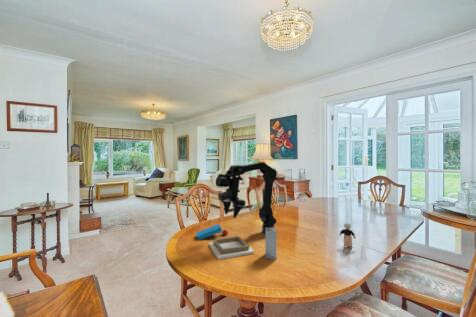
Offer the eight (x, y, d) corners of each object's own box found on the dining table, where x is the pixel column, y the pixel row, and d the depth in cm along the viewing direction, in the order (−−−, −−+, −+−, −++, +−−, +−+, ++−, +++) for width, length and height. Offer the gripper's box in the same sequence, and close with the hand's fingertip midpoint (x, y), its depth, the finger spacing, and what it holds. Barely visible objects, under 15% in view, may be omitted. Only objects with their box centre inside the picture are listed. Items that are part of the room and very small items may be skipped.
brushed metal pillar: (265, 254, 109) (265, 227, 108) (275, 254, 108) (275, 227, 108) (265, 258, 104) (265, 230, 103) (276, 259, 103) (276, 231, 103)
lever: (200, 248, 127) (230, 235, 133) (197, 236, 127) (226, 224, 132) (199, 243, 134) (226, 232, 139) (195, 232, 133) (223, 221, 138)
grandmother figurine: (354, 246, 118) (354, 222, 118) (355, 249, 114) (356, 224, 114) (338, 244, 120) (338, 220, 120) (339, 247, 117) (339, 222, 117)
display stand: (240, 240, 126) (240, 234, 126) (253, 253, 109) (253, 246, 109) (209, 244, 120) (209, 238, 120) (218, 259, 103) (218, 252, 103)
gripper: (213, 184, 129) (209, 212, 128) (229, 188, 113) (225, 220, 112) (229, 186, 135) (226, 212, 134) (247, 190, 119) (244, 219, 118)
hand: (230, 215), depth 124 cm, fingers open, 9 cm apart
